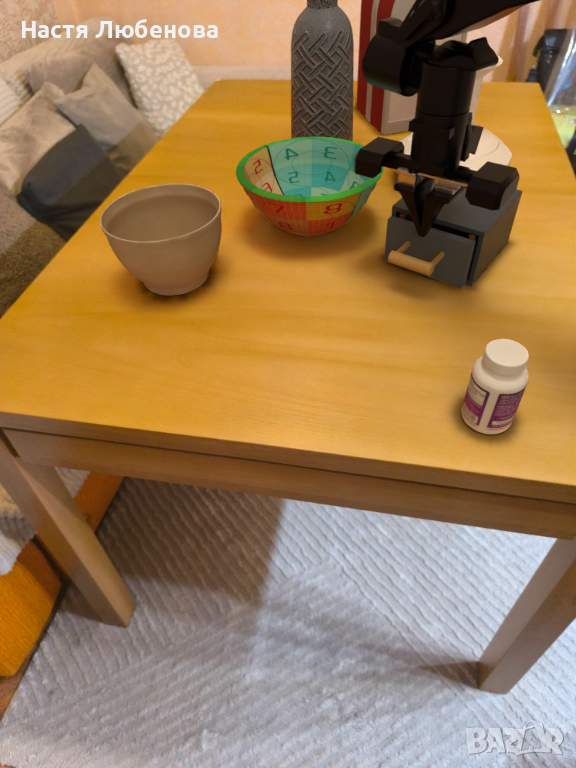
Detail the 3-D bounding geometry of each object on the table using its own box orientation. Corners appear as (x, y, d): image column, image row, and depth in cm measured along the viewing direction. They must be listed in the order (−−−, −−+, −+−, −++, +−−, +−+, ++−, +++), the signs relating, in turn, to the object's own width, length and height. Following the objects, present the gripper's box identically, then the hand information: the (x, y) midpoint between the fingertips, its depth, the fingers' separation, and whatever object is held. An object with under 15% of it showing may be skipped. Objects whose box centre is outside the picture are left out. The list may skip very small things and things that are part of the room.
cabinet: (471, 286, 74) (485, 232, 68) (386, 257, 80) (392, 205, 74) (507, 243, 81) (522, 190, 75) (427, 219, 87) (435, 169, 81)
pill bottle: (512, 404, 59) (538, 339, 52) (510, 441, 55) (537, 376, 48) (462, 394, 60) (481, 329, 53) (456, 429, 56) (475, 364, 50)
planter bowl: (249, 259, 81) (241, 191, 73) (195, 322, 71) (179, 251, 63) (161, 240, 86) (145, 175, 78) (99, 296, 76) (73, 228, 68)
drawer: (445, 307, 69) (455, 263, 65) (365, 277, 75) (368, 235, 70) (497, 246, 79) (508, 204, 74) (422, 224, 84) (428, 183, 79)
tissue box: (420, 97, 125) (439, -49, 106) (454, 124, 113) (482, -35, 94) (354, 106, 123) (360, -41, 104) (381, 135, 111) (394, -26, 92)
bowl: (407, 232, 84) (415, 170, 77) (288, 280, 77) (285, 217, 69) (326, 181, 98) (327, 124, 90) (219, 217, 90) (210, 159, 83)
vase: (364, 154, 105) (375, -23, 85) (317, 172, 100) (316, -10, 80) (325, 136, 112) (326, -32, 92) (279, 153, 107) (270, -20, 87)
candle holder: (529, 185, 93) (566, 61, 79) (444, 219, 86) (467, 91, 72) (448, 148, 105) (468, 35, 91) (368, 175, 99) (376, 58, 85)
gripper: (554, 98, 58) (516, 228, 69) (401, 73, 66) (390, 192, 77) (517, 133, 52) (482, 269, 63) (354, 101, 60) (349, 226, 71)
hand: (422, 235), depth 69 cm, fingers closed
